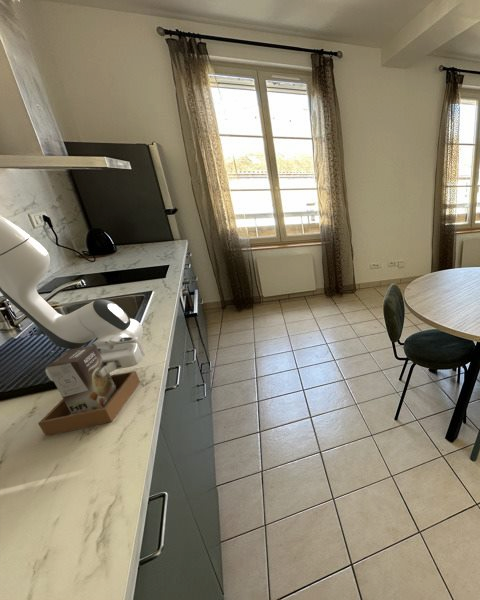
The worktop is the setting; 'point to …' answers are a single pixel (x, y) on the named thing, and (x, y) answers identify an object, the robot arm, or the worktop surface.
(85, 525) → the worktop surface
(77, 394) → the coffee box
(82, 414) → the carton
